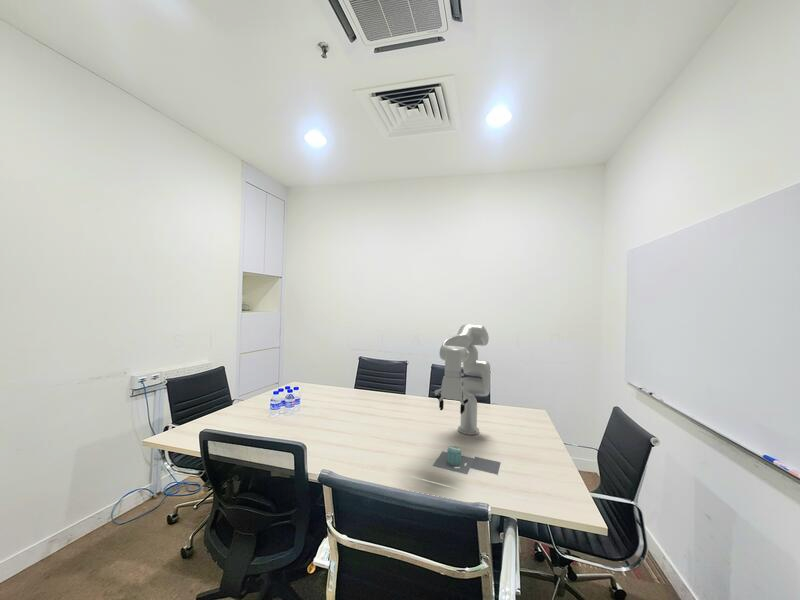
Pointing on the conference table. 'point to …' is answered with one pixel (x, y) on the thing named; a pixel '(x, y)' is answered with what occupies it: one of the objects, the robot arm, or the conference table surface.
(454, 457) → the cap
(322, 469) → the conference table surface
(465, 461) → the post plate
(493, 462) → the mat
